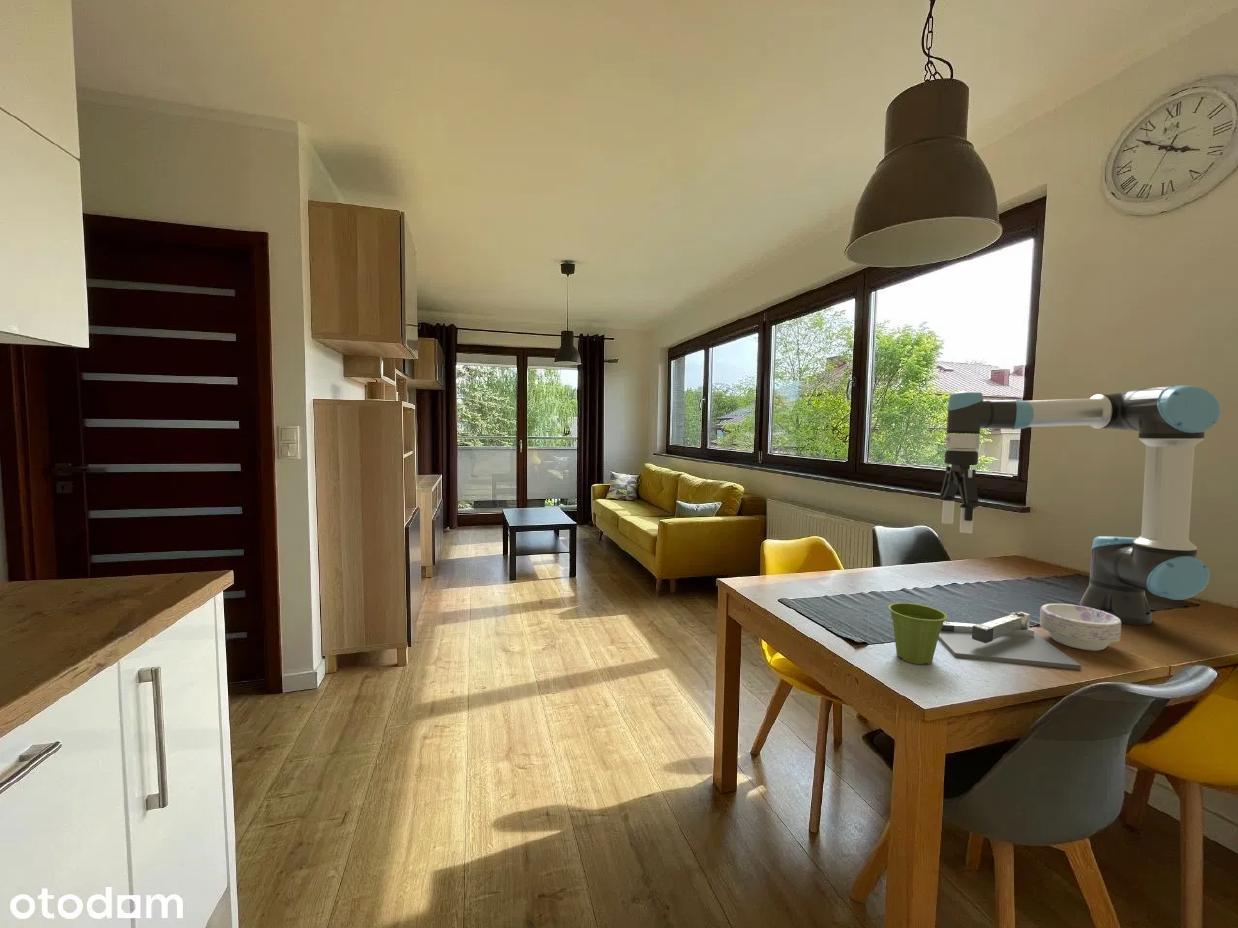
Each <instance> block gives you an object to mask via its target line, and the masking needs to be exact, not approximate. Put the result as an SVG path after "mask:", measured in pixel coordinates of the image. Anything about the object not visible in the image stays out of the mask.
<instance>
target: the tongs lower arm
mask: <svg viewBox="0 0 1238 928" xmlns="http://www.w3.org/2000/svg"><path fill="white" fill-rule="evenodd" d="M977 624H978V623H967V622H951V621H946V620H944V623H943V626H942V629H941V630H940V631H952V632H954V631H960V632H972V628H973V626H974V625H977ZM1034 633H1035V630H1034V629H1032V628H1031V627H1028V629H1027V630H1018V631H1016V632H1013V633H1010V634H1007V635H1018V636H1033V637H1034Z"/></svg>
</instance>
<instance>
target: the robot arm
mask: <svg viewBox="0 0 1238 928" xmlns="http://www.w3.org/2000/svg"><path fill="white" fill-rule="evenodd" d="M1220 416H1221V405H1220V402H1219V401H1218V399H1217V397H1216V396H1215V394H1213V393H1211V392H1210V391H1209V390H1208V389H1206V388H1203V387H1201V386H1197V385H1181V384H1176V385H1170V386H1161V387H1158V386H1157V387H1152V388H1151V387H1149V388H1138V389H1132V390H1126V391H1120V392H1114V393H1105V394H1104V393H1103V394H1094V395H1093V396H1091V397H1090V398H1067V399H1062V398H1061V399H1043V400H1042V399H1040V400H1039V399H1038V400H1018V399H1014V400H1011V399H1010V400H1009V399H1007V400H1004V399H1003V400H1002V399H997V400H995V399H994V400H993V399H990V400H988V399H984V396H983V393H982V392H980V391H957V392H953V393H951V394H950V395H949V400H948V404H947V419H946V420H947V421H946V422H947V423H946V434H945V435H946V436H945V437H944V438H943V440H944V441H945V449H947V450H945V452H944V463H945V464H946V465H947V466H946V468H945V475H944V479H943V482H942V487H941V490H940V494H939V495H940V498H942V510H941V524H943V525H944V524H945V525H948V524H949V525H953V524H954V515H955V502H956V501H957V500H956V499H957V498H956V494H957V491H958V490H959V495H960V499H961V505H960V506H959V508H960V517H959V533H961V534H973V529H974V518H975V517H974V516H975V515H974V514H975V513H974V512H975V509H976V508H979V506H980V503H979V495H978V488H977V481H976V479H977V478H976V474H977V470H976V469H971V468H970V467H971V466H977V465H978V464H979V463H978V461H979V452H978V450H979V449H980V443H981V441H980V439H981V438H980V437H981V434H980V433H981V430H982V429H984V430H985V429H990V430H991V429H992V430H994V429H995V430H999V429H1000V430H1003V429H1004V430H1005V429H1006V430H1022V429H1027V428H1031V427H1032V428H1037V427H1039V428H1040V427H1041V428H1043V427H1072V426H1073V427H1076V426H1081V427H1082V426H1089V427H1091V428H1092V429H1096V430H1098V429H1105V430H1106V429H1107V430H1108V429H1110V430H1119V431H1120V430H1122V431H1130V432H1132V431H1133V432H1138V440H1139V441H1140V442H1141V443H1143V444H1144V445H1145V459H1144V461H1145V462H1144V476H1143V477H1144V478H1143V479H1144V481H1143V496H1142V497H1143V499H1142V514H1141V515H1142V516H1141V530H1140V531H1141V532H1140V533H1141V534H1140V535H1139V536H1138V537H1133V536H1132V537H1130V536H1128V537H1127V536H1112V535H1108V536H1107V535H1099V536H1095V537H1094V539H1093V541H1092V545H1091V547H1090V550H1091V553H1090V554H1091V555H1090V556H1091V557H1090V568H1089V569H1090V571H1089V583H1088V586H1087V588H1086V590H1085V592H1084V594H1083V595H1082V597H1081V599H1080V601H1079V606H1084V607H1089V608H1093V609H1097V610H1101V611H1104V612H1107V613H1110V614H1112V615H1114V616H1116V617H1118V618H1119V619H1120V620H1121V624H1125V625H1126V624H1127V625H1138V626H1143V625H1150V624H1152V617H1153V616H1152V615H1153V614H1152V611H1151V608H1150V606H1149V603H1148V599H1147V597H1146V592H1148V593H1150V594H1152V595H1154V596H1158V597H1161V598H1166V599H1169V600H1174V601H1178V600H1179V601H1180V600H1187V599H1191V598H1194V597H1196V595H1197V594H1198V593H1199V594H1200V593H1202V591H1204V590H1205V589H1206V587H1207V586H1208V584H1209V581H1210V578H1211V577H1210V575H1211V574H1210V569H1209V568H1208V566H1207V565H1206V564H1205V563H1204V562H1203V561H1202V560H1200V559H1199V558H1197V556H1198V555H1197V554H1198V547H1197V545H1195V544H1194V543H1192V542H1191V540H1190V537H1189V536H1190V524H1191V523H1190V522H1191V510H1192V507H1191V506H1192V490H1193V477H1194V476H1193V475H1194V463H1195V462H1194V461H1195V447H1196V445H1198V444H1200V443H1201V442H1202V441H1204V440H1205V434H1206V433H1205V432H1206V431H1208V430H1209V429H1212V428H1213V427H1214V424H1217V423H1218V421H1219V419H1220ZM950 465H951V466H950Z"/></svg>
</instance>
